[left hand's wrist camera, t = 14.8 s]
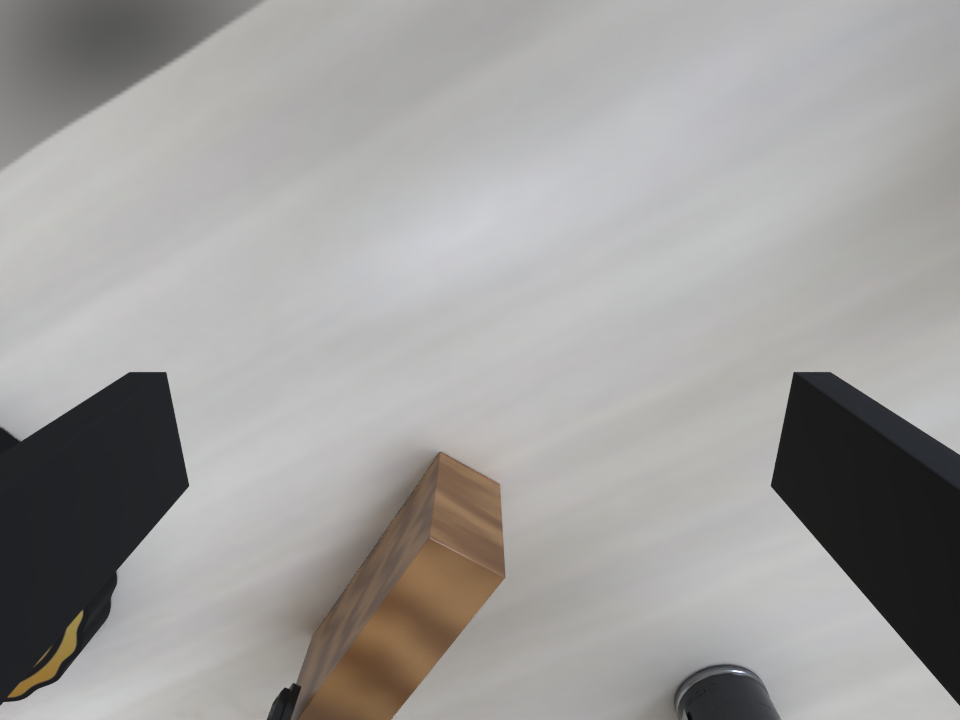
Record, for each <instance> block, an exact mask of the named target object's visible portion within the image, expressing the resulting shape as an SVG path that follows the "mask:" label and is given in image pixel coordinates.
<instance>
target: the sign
mask: <svg viewBox="0 0 960 720" xmlns="http://www.w3.org/2000/svg"><path fill="white" fill-rule="evenodd" d="M18 443H19V442H18V441H16V440H15V439H14V438H12V437H11V436H10V435H9V434H7V433H6V432H5V431H3V430H2V429H0V455H1V454H3V453H4V452H6V451H7V450H9V449H10V448H12V447H14V446H15V445H17V444H18ZM116 581H117V579H116V573H114V574H113V575H112V576H111V577H110V579H109V580H108V581H107V582H106V583H105V584H104V586H103V587H102V588H101V589H100V590H99V591H98V593H97V594H96V595H95V596H94V597H93V598H92V600H91V601H90V602H89V603H88V604H87V605H86V607H85V608H84V609H83V610H82V611H81V612H80V613H79V615H78V616H77V617H76V618H75V619H74V620H73V622H72V623H71V624H70V625H69V626H68V627H67V629H66V630H65V631H64V632H63V633H62V634H61V636H60V637H59V638H58V639H57V640H56V641H55V643H54V644H53V645H52V646H51V647H50V648H49V650H48V651H47V652H46V653H45V654H44V655H43V656H42V658H41V659H40V660H39V661H38V662H37V663H36V665H35V666H34V667H33V668H32V669H31V670H30V672H29V673H28V674H27V675H26V676H25V677H24V679H23V680H22V681H21V682H20V683H19V684H18V686H17V687H16V688H15V689H14V690H13V691H12V693H11V694H10V695H9V696H8V697H7V698H6V699H5V701H4V702H11V701H18V700H22V699H24V698H26V697H28V696H29V695H31V694H32V693H33V692H34V691H35V690H37V689H39V688H41V687H44V686H47V685H50V684H52V683H54V682H56V681H57V680H59V678H60V677H61V676H62V675H63V673H64V672H65V671H66V670H67V668H68V667H69V666H70V665H71V663H72V662H73V661H74V660H75V658H76V657H77V656H78V655H79V654H80V652H81V651H82V650H83V648H84V647H85V646H86V645H87V643H88V642H89V641H90V640H91V638H92V637H93V636H94V635H95V633H96V632H97V631H98V630H99V628H100V627H101V626H102V624H103V623H104V622H105V621H106V619H107V618H108V615H109V612H110V598H111V595H112V593H113V591H114V589H115V587H116Z"/></svg>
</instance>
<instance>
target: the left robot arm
mask: <svg viewBox="0 0 960 720" xmlns="http://www.w3.org/2000/svg"><path fill="white" fill-rule="evenodd" d="M188 487H189V483H188V478H187V473H186V468H185V463H184V458H183V453H182V448H181V443H180V438H179V433H178V428H177V423H176V418H175V413H174V408H173V403H172V398H171V394H170V389H169V384H168V379H167V374H166V372H129V373H128V374H126V375H124V376H123V377H121V378H120V379H118V380H117V381H115V382H114V383H112V384H110V385H109V386H107V387H106V388H104V389H103V390H101V391H99V392H98V393H96V394H95V395H93V396H92V397H90V398H89V399H87V400H85V401H84V402H82V403H81V404H79V405H78V406H76V407H74V408H73V409H71V410H70V411H68V412H67V413H65V414H64V415H62V416H60V417H59V418H57V419H56V420H54V421H53V422H51V423H49V424H48V425H46V426H45V427H43V428H42V429H40V430H39V431H37V432H35V433H34V434H32V435H31V436H29V437H28V438H26V439H24V440H23V441H21V442H20V443H18V444H17V445H15V446H14V447H12V448H10V449H9V450H7V451H6V452H4V453H3V454H1V455H0V705H1V704H2V703H3V702H4V701H5V699H6V698H7V697H8V696H9V695H10V694H11V693H12V691H13V690H14V689H15V688H16V687H17V686H18V684H19V683H20V682H21V681H22V680H23V679H24V677H25V676H26V675H27V674H28V673H29V672H30V670H31V669H32V668H33V667H34V666H35V665H36V663H37V662H38V661H39V660H40V659H41V658H42V656H43V655H44V654H45V653H46V652H47V651H48V650H49V648H50V647H51V646H52V645H53V644H54V643H55V641H56V640H57V639H58V638H59V637H60V636H61V634H62V633H63V632H64V631H65V630H66V629H67V627H68V626H69V625H70V624H71V623H72V622H73V620H74V619H75V618H76V617H77V616H78V615H79V613H80V612H81V611H82V610H83V609H84V608H85V607H86V605H87V604H88V603H89V602H90V601H91V600H92V598H93V597H94V596H95V595H96V594H97V593H98V591H99V590H100V589H101V588H102V587H103V586H104V584H105V583H106V582H107V581H108V580H109V579H110V577H111V576H112V575H113V574H114V573H115V572H116V570H117V569H118V568H119V567H120V566H121V565H122V563H123V562H124V561H125V560H126V559H127V558H128V557H129V555H130V554H131V553H132V552H133V551H134V550H135V548H136V547H137V546H138V545H139V544H140V543H141V541H142V540H143V539H144V538H145V537H146V536H147V534H148V533H149V532H150V531H151V530H152V529H153V527H154V526H155V525H156V524H157V523H158V522H159V520H160V519H161V518H162V517H163V516H164V515H165V514H166V512H167V511H168V510H169V509H170V508H171V507H172V505H173V504H174V503H175V502H176V501H177V500H178V498H179V497H180V496H181V495H182V494H183V493H184V491H185V490H186V489H187V488H188ZM771 487H772V488H773V489H774V490H775V491H776V493H777V494H778V495H779V496H780V497H781V498H782V500H783V501H784V502H785V503H786V504H787V505H788V507H789V508H790V509H791V510H792V511H793V512H794V514H795V515H796V516H797V517H798V518H799V519H800V520H801V522H802V523H803V524H804V525H805V526H806V527H807V529H808V530H809V531H810V532H811V533H812V534H813V536H814V537H815V538H816V539H817V540H818V541H819V543H820V544H821V545H822V546H823V547H824V548H825V550H826V551H827V552H828V553H829V554H830V555H831V557H832V558H833V559H834V560H835V561H836V562H837V563H838V565H839V566H840V567H841V568H842V569H843V570H844V572H845V573H846V574H847V575H848V576H849V577H850V579H851V580H852V581H853V582H854V583H855V584H856V586H857V587H858V588H859V589H860V590H861V591H862V593H863V594H864V595H865V596H866V597H867V598H868V600H869V601H870V602H871V603H872V604H873V605H874V607H875V608H876V609H877V610H878V611H879V612H880V613H881V615H882V616H883V617H884V618H885V619H886V620H887V622H888V623H889V624H890V625H891V626H892V627H893V629H894V630H895V631H896V632H897V633H898V634H899V636H900V637H901V638H902V639H903V640H904V641H905V643H906V644H907V645H908V646H909V647H910V648H911V650H912V651H913V652H914V653H915V654H916V655H917V656H918V658H919V659H920V660H921V661H922V662H923V663H924V665H925V666H926V667H927V668H928V669H929V670H930V672H931V673H932V674H933V675H934V676H935V677H936V679H937V680H938V681H939V682H940V683H941V684H942V686H943V687H944V688H945V689H946V690H947V691H948V693H949V694H950V695H951V696H952V697H953V698H954V699H955V701H956V702H957V703H958V704H959V705H960V455H959V454H957V453H956V452H954V451H953V450H951V449H950V448H948V447H946V446H945V445H943V444H942V443H940V442H939V441H937V440H936V439H934V438H932V437H931V436H929V435H928V434H926V433H925V432H923V431H921V430H920V429H918V428H917V427H915V426H914V425H912V424H911V423H909V422H907V421H906V420H904V419H903V418H901V417H900V416H898V415H896V414H895V413H893V412H892V411H890V410H889V409H887V408H886V407H884V406H882V405H881V404H879V403H878V402H876V401H875V400H873V399H871V398H870V397H868V396H867V395H865V394H864V393H862V392H861V391H859V390H857V389H856V388H854V387H853V386H851V385H850V384H848V383H846V382H845V381H843V380H842V379H840V378H839V377H837V376H836V375H834V374H832V373H831V372H794V374H793V379H792V384H791V389H790V394H789V398H788V403H787V408H786V413H785V418H784V423H783V428H782V433H781V438H780V443H779V448H778V453H777V458H776V463H775V468H774V473H773V478H772V483H771Z"/></svg>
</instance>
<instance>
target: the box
mask: <svg viewBox="0 0 960 720" xmlns="http://www.w3.org/2000/svg"><path fill="white" fill-rule="evenodd" d="M504 578H505V562H504V546H503V529H502V512H501V495H500V484H498V483H496V482H494V481H492V480H491V479H489V478H487V477H485V476H483V475H482V474H480V473H478V472H476V471H474V470H473V469H471V468H469V467H467V466H465V465H464V464H462V463H460V462H458V461H456V460H454V459H453V458H451V457H449V456H447V455H445V454H444V453H442V452H440V453H439V455H438V456H437V458H436V459H435V460H434V462H433V463H432V465H431V466H430V468H429V469H428V471H427V472H426V473H425V475H424V476H423V478H422V479H421V481H420V482H419V484H418V485H417V487H416V488H415V489H414V491H413V492H412V494H411V495H410V497H409V498H408V500H407V501H406V502H405V504H404V505H403V507H402V508H401V510H400V511H399V513H398V514H397V515H396V517H395V518H394V520H393V521H392V523H391V524H390V526H389V527H388V528H387V530H386V531H385V533H384V534H383V536H382V537H381V539H380V540H379V541H378V543H377V544H376V546H375V547H374V549H373V550H372V552H371V553H370V554H369V556H368V557H367V559H366V560H365V562H364V563H363V565H362V566H361V567H360V569H359V570H358V572H357V573H356V575H355V576H354V578H353V579H352V580H351V582H350V583H349V585H348V586H347V588H346V589H345V591H344V592H343V594H342V595H341V596H340V598H339V599H338V601H337V602H336V604H335V605H334V607H333V608H332V609H331V611H330V612H329V614H328V615H327V617H326V618H325V620H324V621H323V622H322V624H321V625H320V627H319V628H318V630H317V631H316V633H315V634H314V635H313V637H312V639H311V642H310V645H309V648H308V651H307V654H306V657H305V660H304V662H303V665H302V668H301V671H300V674H299V677H298V680H297V683H296V684H297V685H299V686H301V690H300V693H299V696H298V699H297V702H296V705H295V708H294V711H293V714H292V717H291V720H391V719H392V718H393V716H394V715H395V714H396V713H397V711H398V710H399V709H400V708H401V706H402V705H403V704H404V703H405V701H406V700H407V699H408V698H409V696H410V695H411V694H412V693H413V692H414V690H415V689H416V688H417V687H418V685H419V684H420V683H421V682H422V680H423V679H424V678H425V677H426V675H427V674H428V673H429V672H430V670H431V669H432V668H433V667H434V665H435V664H436V663H437V662H438V660H439V659H440V658H441V657H442V655H443V654H444V653H445V652H446V650H447V649H448V648H449V647H450V645H451V644H452V643H453V642H454V641H455V639H456V638H457V637H458V636H459V634H460V633H461V632H462V631H463V629H464V628H465V627H466V626H467V624H468V623H469V622H470V621H471V619H472V618H473V617H474V616H475V614H476V613H477V612H478V611H479V609H480V608H481V607H482V606H483V604H484V603H485V602H486V601H487V599H488V598H489V597H490V596H491V594H492V593H493V592H494V591H495V590H496V588H497V587H498V586H499V585H500V583H501V582H502V581H503V580H504Z"/></svg>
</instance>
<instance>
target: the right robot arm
mask: <svg viewBox="0 0 960 720" xmlns="http://www.w3.org/2000/svg"><path fill="white" fill-rule="evenodd" d="M300 690H301V686H299V685H297V684H295V683H293V684H292V685H291V687H290V688H289V689H287V688H284V689H283V690H282V691H281V692H280V694H279V695H278V697H277V698H276V699H275V701H274V702H273V705H272V707H271V710H270V713H269V715H268V718H267V720H291V717H292V714H293V711H294V708H295V705H296V702H297V699H298V696H299V693H300ZM675 711H676V714H677V716H678V719H679V720H781V718H780V716H779V715H778V713H777V711H776V709H775V707H774V705H773V703H772V701H771V699H770V697H769V694H768V692H767V690H766V688H765V686H764V684H763V682H762V681H761V679H760V678H759V677H758V676H757V675H755V674H754V673H752V672H751V671H749V670H746V669H744V668H740V667H735V666H719V667H713V668H709V669H706V670H703V671H701V672H699V673H697V674H695V675H693V676H692V677H690V678H689V679H688V680H687V681H685V682H684V684H683V685H682V686H681V687H680V689H679V690H678V692H677V694H676V697H675Z"/></svg>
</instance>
